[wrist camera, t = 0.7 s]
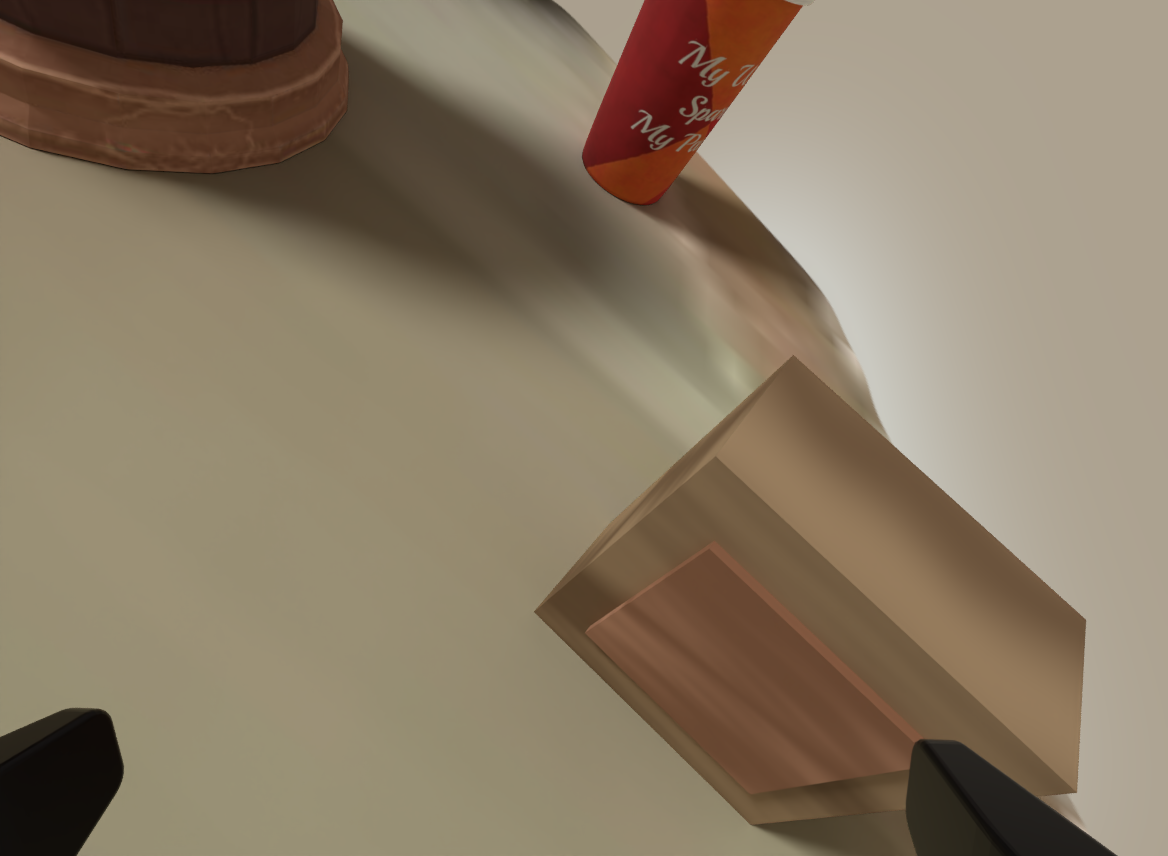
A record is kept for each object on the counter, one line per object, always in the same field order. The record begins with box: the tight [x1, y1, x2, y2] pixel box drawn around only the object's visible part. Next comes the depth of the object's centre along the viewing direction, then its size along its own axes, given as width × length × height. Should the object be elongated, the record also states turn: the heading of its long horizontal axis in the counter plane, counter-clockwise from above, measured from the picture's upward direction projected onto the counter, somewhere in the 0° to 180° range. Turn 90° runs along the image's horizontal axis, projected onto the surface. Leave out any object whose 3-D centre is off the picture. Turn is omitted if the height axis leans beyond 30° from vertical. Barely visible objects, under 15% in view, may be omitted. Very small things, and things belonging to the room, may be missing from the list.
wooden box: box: [534, 355, 1086, 825], centre depth 19 cm, size 5×10×11 cm, turn 52°
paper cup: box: [582, 0, 815, 205], centre depth 34 cm, size 8×8×14 cm
